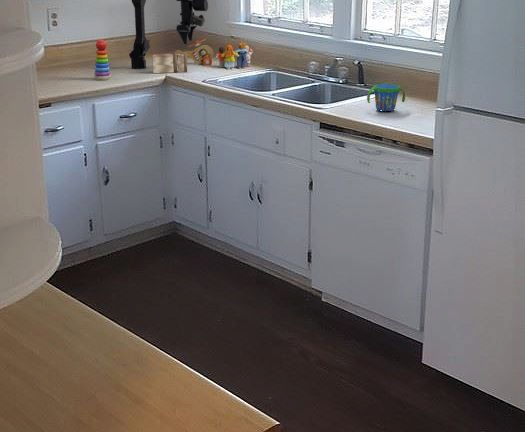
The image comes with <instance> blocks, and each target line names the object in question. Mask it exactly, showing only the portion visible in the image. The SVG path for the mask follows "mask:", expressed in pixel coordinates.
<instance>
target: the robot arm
mask: <svg viewBox="0 0 525 432" xmlns="http://www.w3.org/2000/svg"><path fill="white" fill-rule="evenodd" d="M146 2H147V0H131V3H132V5H133V8H134V24H135V38H134V41H133V49H132V50H131V52H130V53H129V58H130V62H131V65H130V66H131V69H132V70H145V69H146V68H147V60H146V58H145V57H146V55H147V53H148V51H150V47H151V46H150V39H147V38H146V29H145V27H146V26H145V24H146V23H145V5H146ZM176 2H180V13H179V15H180V19H181V21H180V22H179V24H177V25H176V31H177V33H178V34H179V36H180V38H181V40H182V42H183V44H184V45H188V40H189V41H190V42H192V40H193V36H194V33H195V32H194V31H195V29H196V28H197V27H203V26H204V23H205V17H204V14H200V15H196V14H195V12H207V11H208V9H209V2H208V0H176ZM194 11H195V12H194Z"/></svg>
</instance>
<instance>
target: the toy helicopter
mask: <svg viewBox="0 0 525 432" xmlns="http://www.w3.org/2000/svg"><path fill="white" fill-rule="evenodd" d="M206 40H207V39H206V38H205V39H202V40H195V41H194V43H193V44H190V45H188V48H190V47H193V46H194V49H193V50H191V51H181V50H180V49H176V50H174V52H173V53H177V54H183V53H187V59H192V60H193V65H195V66H199V65H203V66H212V64H213V59H214V50H213V48H212V47H211V46H209V45H207V44H202V42H204V41H206ZM177 61H178V56H177Z"/></svg>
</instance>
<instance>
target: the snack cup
mask: <svg viewBox="0 0 525 432" xmlns="http://www.w3.org/2000/svg"><path fill="white" fill-rule="evenodd" d="M400 90H401V91H402V96H401V97H402V98H401V102H402V103H405V100H406V92H405V90H404V89H403V88H402V87H400V85H397V84H393V83H377V84H374V85H373V87H371V88H370V89H369V90H368V92H367V96H366V101H367V103H368V104H370V103H371V102H370V101H371V100H370V98H371V92H372V91H374V100H375V101H374V102H375V109H377V110H382V111H392V110H394V109H395V110H396V106H397V102H398V96H399V93H400ZM377 110H376V111H377ZM395 110H394V111H395Z"/></svg>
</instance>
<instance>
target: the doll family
mask: <svg viewBox="0 0 525 432" xmlns="http://www.w3.org/2000/svg"><path fill="white" fill-rule="evenodd" d="M237 46H238V49H236V50H234V48H233V46H232V45H231V44H227V45H226V47H223V46H222V47H221V46H220V47H219V48H218V53H216V56H215V59H218V58H219V60H218V62H219V68H221V69H222V68H223V69H225V70H227V71H232V70H233V71H234V70H235V68H234V67H235V62H236V68H237V69H245V68H250V67H251V65H250V64H251V56H252V54H253V53H254V52H253V49H252V48H250V47H249V45H246V42H239V43H238V44H237ZM235 57H237V59H235ZM236 60H237V61H236Z"/></svg>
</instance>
